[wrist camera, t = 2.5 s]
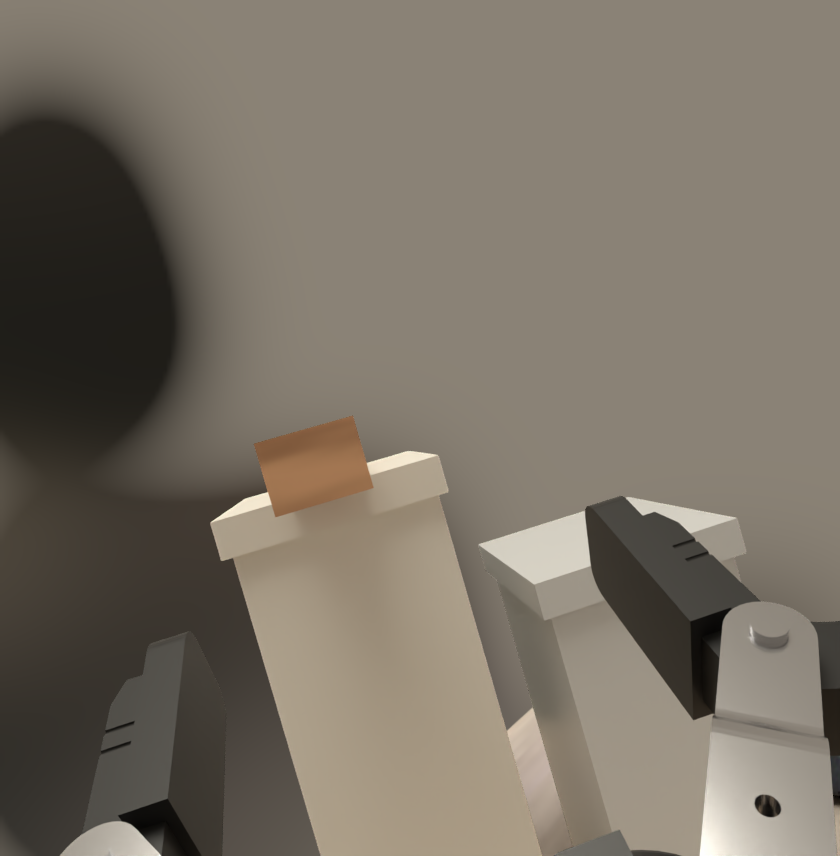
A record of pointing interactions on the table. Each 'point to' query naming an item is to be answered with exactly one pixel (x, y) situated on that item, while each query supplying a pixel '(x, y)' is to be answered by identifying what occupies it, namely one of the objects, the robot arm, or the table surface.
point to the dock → (606, 687)
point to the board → (313, 466)
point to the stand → (380, 669)
